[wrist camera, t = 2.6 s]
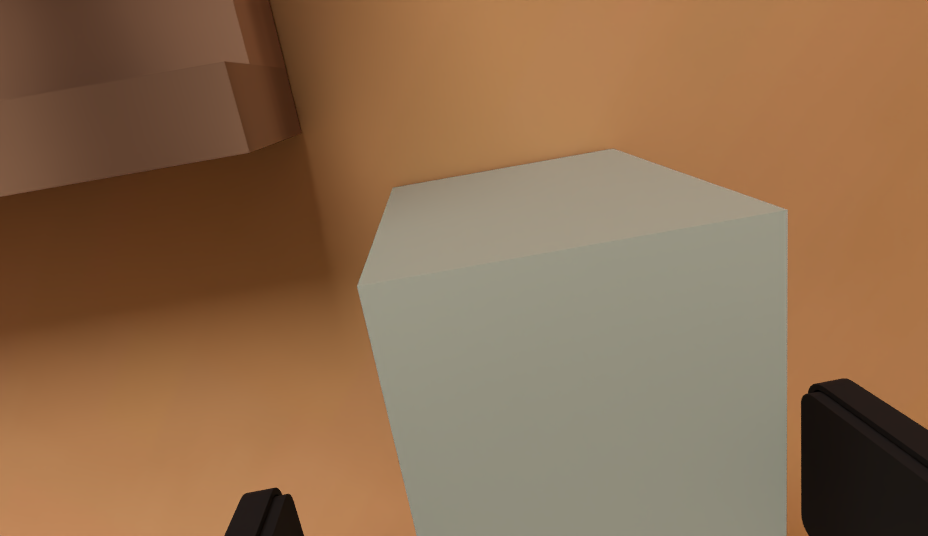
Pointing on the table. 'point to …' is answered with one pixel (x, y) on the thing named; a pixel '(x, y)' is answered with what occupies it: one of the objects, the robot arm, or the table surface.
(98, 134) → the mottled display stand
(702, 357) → the mini block
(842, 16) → the table surface
